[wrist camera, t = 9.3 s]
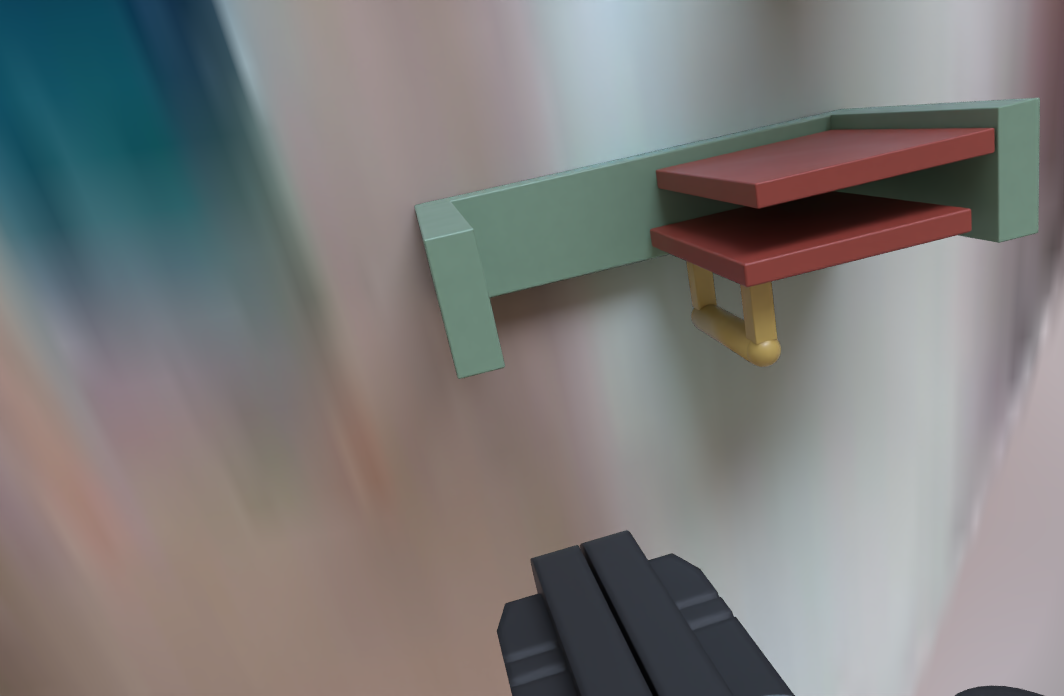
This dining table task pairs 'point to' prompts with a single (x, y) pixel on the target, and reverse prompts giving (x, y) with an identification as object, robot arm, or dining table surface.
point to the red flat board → (790, 253)
